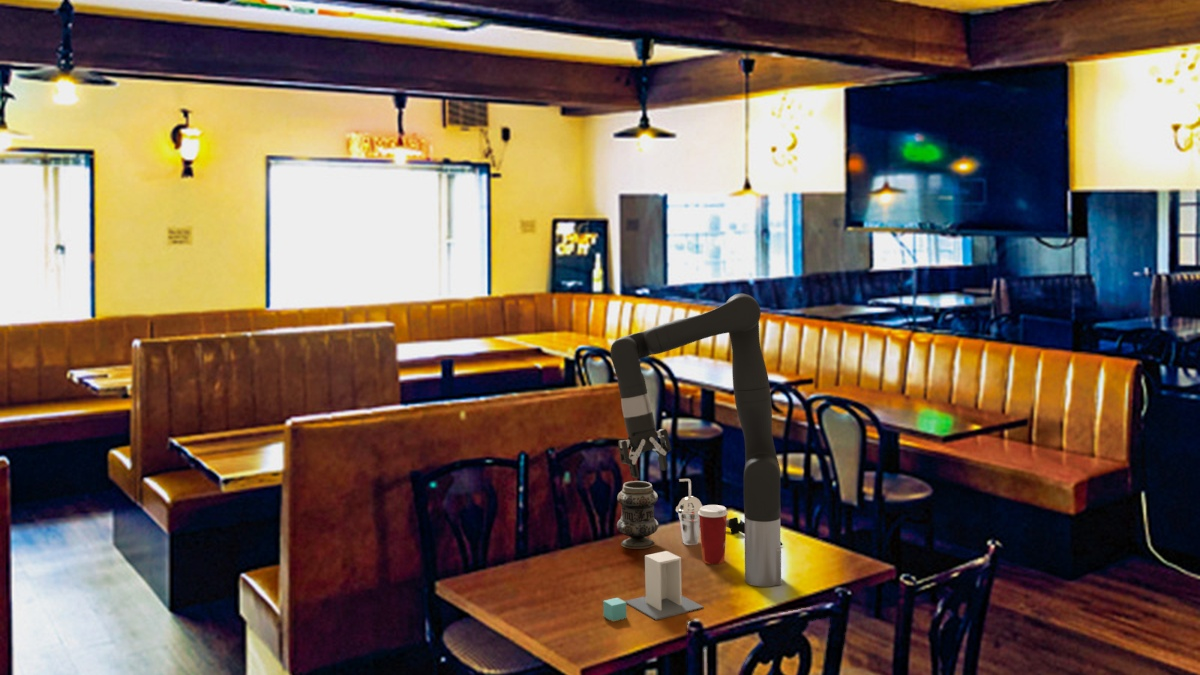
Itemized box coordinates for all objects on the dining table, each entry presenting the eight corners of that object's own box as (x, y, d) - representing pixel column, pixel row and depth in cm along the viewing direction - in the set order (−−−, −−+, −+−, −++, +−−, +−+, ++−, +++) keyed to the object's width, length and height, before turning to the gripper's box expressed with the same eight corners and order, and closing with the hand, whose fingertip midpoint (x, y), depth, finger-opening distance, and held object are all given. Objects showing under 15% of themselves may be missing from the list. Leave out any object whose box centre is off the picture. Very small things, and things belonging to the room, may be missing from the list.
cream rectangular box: (645, 602, 267) (644, 555, 266) (667, 597, 270) (666, 550, 269) (659, 610, 262) (659, 562, 260) (681, 605, 265) (681, 557, 263)
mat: (671, 591, 276) (671, 590, 276) (703, 608, 264) (703, 606, 264) (624, 602, 269) (624, 600, 269) (655, 620, 257) (655, 618, 257)
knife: (703, 521, 333) (704, 507, 332) (710, 519, 334) (711, 505, 333) (775, 555, 309) (776, 540, 308) (782, 553, 310) (784, 538, 310)
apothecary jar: (664, 548, 311) (663, 487, 309) (624, 552, 308) (623, 491, 306) (650, 536, 323) (649, 477, 321) (612, 540, 319) (610, 481, 317)
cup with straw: (710, 545, 313) (709, 477, 311) (681, 549, 310) (680, 480, 308) (697, 537, 321) (696, 471, 319) (669, 540, 318) (668, 474, 316)
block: (603, 616, 260) (603, 600, 259) (617, 613, 262) (617, 597, 261) (612, 622, 256) (612, 605, 256) (626, 618, 258) (626, 602, 258)
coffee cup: (734, 561, 298) (734, 508, 296) (711, 567, 293) (711, 514, 291) (714, 554, 305) (714, 502, 303) (692, 560, 300) (691, 507, 298)
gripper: (621, 419, 272) (634, 481, 272) (668, 406, 279) (680, 467, 279) (607, 419, 278) (619, 480, 279) (652, 407, 285) (665, 466, 286)
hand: (650, 474), depth 279 cm, fingers open, 8 cm apart
